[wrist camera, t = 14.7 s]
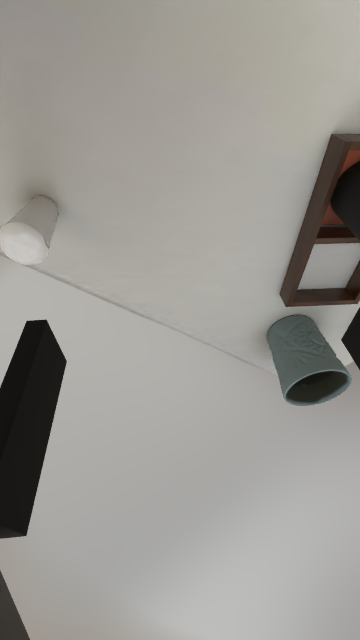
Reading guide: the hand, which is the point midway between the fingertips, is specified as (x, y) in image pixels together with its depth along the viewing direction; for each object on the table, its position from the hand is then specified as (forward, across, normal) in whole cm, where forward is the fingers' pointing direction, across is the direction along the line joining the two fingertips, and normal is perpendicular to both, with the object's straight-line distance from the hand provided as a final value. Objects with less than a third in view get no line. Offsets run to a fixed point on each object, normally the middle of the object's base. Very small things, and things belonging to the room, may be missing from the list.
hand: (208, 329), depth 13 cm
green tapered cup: (+26, +20, -31) cm, 45 cm away
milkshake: (+26, -15, -6) cm, 31 cm away
